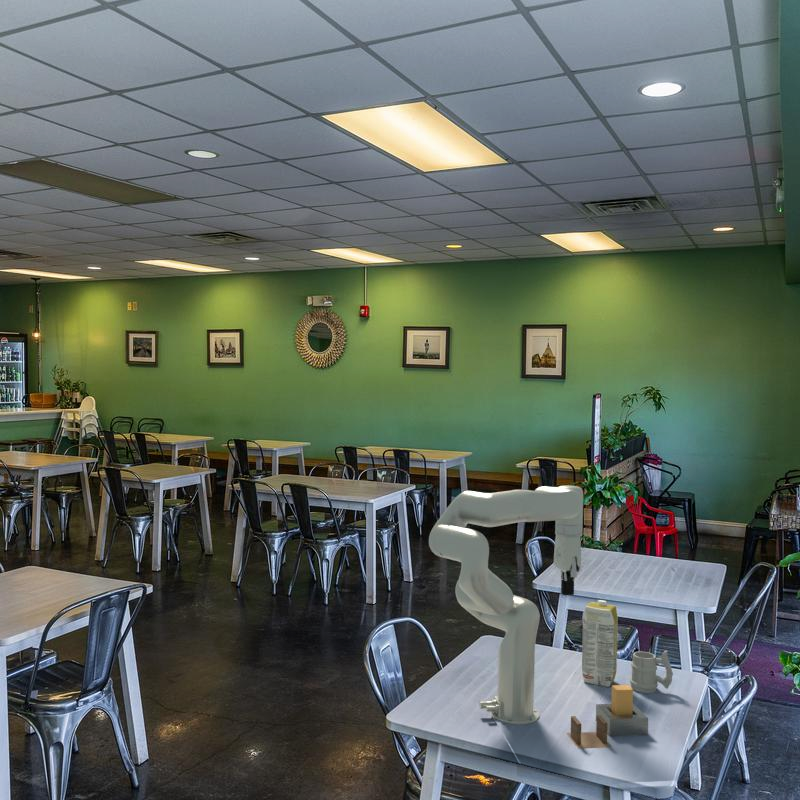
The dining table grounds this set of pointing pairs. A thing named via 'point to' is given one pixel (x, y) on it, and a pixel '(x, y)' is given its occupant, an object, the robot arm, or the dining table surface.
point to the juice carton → (599, 643)
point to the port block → (623, 721)
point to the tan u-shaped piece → (589, 734)
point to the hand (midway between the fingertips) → (567, 594)
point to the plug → (622, 700)
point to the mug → (649, 672)
